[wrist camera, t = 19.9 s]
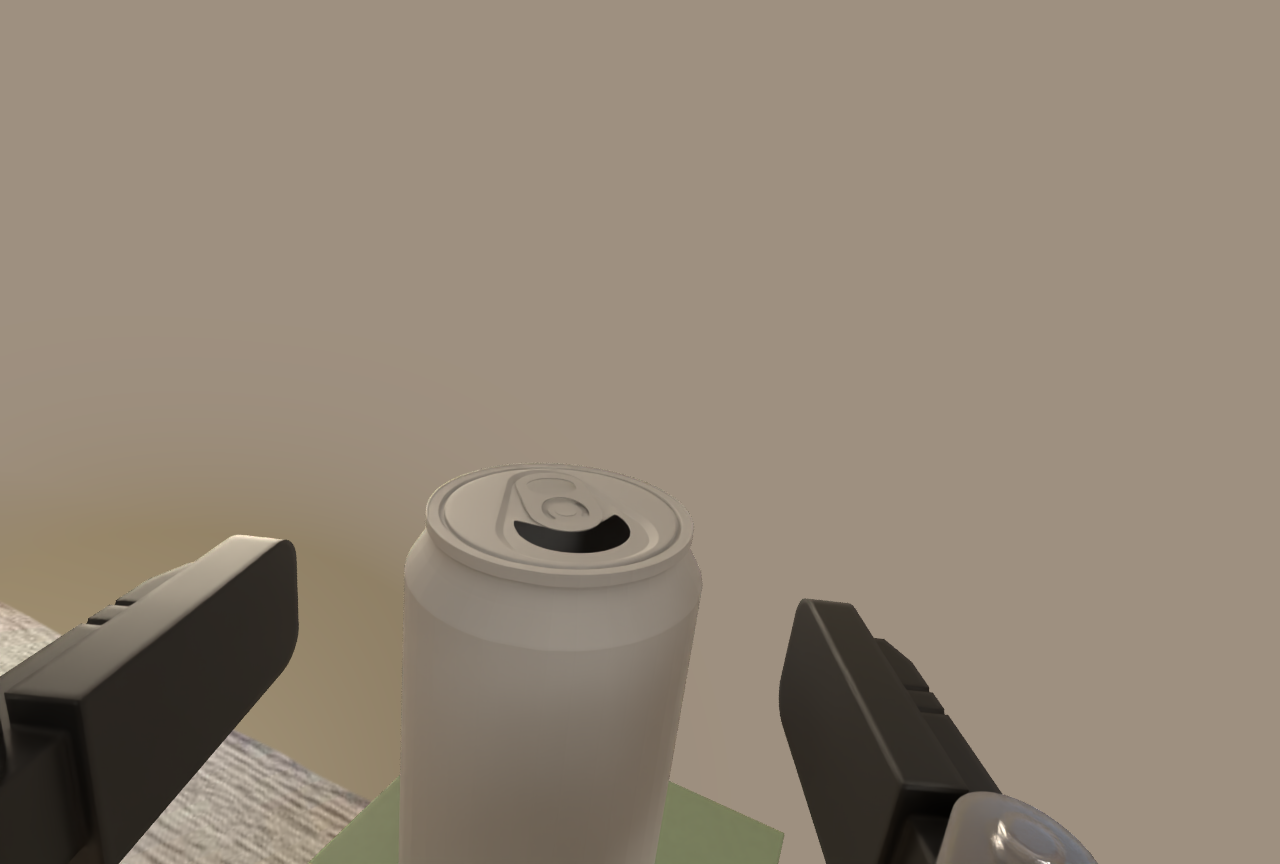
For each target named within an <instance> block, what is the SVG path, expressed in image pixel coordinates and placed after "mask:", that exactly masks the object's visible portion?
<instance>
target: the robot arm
mask: <svg viewBox="0 0 1280 864" xmlns="http://www.w3.org/2000/svg"><path fill="white" fill-rule="evenodd" d="M298 626H299V623H298V592H297V561H296V551H295V548H294V546H293V544H292V543H291V542H290V541H288V540H282V539H273V538H264V537H255V536H246V535H234V536H232V537H230V538H228V539H227V540H225V541H224V542H222V543H221V544H219V545H218V546H217V547H215V548H214V549H212V550H211V551H209V552H208V553H206V554H205V555H203V556H202V557H200V558H199V559H198V560H196V561H195V562H193V563H188V564H185V565H183V566H180V567H178V568H175V569H173V570H170V571H168V572H165V573H162V574H160V575H157V576H155V577H153V578H150V579H148V580H146V581H145V582H143V583H142V584H140V585H139V586H137V587H136V588H134V589H133V590H131V591H130V592H128V593H126V594H125V595H123V596H122V597H120V598H119V599H117V600H116V603H115V605H108V606H107V607H105V608H104V609H102V610H101V611H99V612H98V613H97V614H95V615H93V616H92V617H90V618H88V622H87V623H86V624H80V625H78V626H76V627H75V628H73V629H72V630H70V631H69V632H67V633H66V634H64V635H63V636H61V637H60V638H58V639H57V640H55V641H54V642H52V643H50V644H49V645H47V646H46V647H44V648H43V649H41V650H40V651H38V652H37V653H35V654H34V655H32V656H31V657H29V658H28V659H26V660H25V661H23V662H22V663H20V664H19V665H17V666H16V667H14V668H13V669H11V670H9V671H8V672H6V673H5V674H3V675H2V676H0V864H119V863H120V862H121V860H122V859H123V858H124V857H125V856H126V855H127V853H128V852H129V851H130V850H131V849H132V848H133V846H134V845H135V844H136V843H137V842H138V840H139V839H140V838H141V837H142V836H143V835H144V833H145V832H146V831H147V830H148V829H149V828H150V826H151V825H152V824H153V823H154V822H155V821H156V819H157V818H158V817H159V816H160V815H161V814H162V812H163V811H164V810H165V809H166V808H167V807H168V805H169V804H170V803H171V802H172V801H173V799H174V798H175V797H176V796H177V795H178V794H179V792H180V791H181V790H182V789H183V788H184V787H185V785H186V784H187V783H188V782H189V781H190V780H191V778H192V777H193V776H194V775H195V774H196V773H197V771H198V770H199V769H200V768H201V767H202V766H203V764H204V763H205V762H206V761H207V760H208V758H209V757H210V756H211V755H212V754H213V753H214V751H215V750H216V749H217V748H218V747H219V746H220V744H221V743H222V742H223V741H224V740H225V739H226V737H227V736H228V735H229V734H230V733H231V732H232V730H233V729H234V728H235V727H236V726H237V724H238V723H239V722H240V721H241V720H242V719H243V717H244V716H245V715H246V714H247V713H248V712H249V710H250V709H251V708H252V707H253V706H254V705H255V703H256V702H257V701H258V700H259V699H260V697H261V696H262V695H263V694H264V693H265V692H266V691H267V689H268V688H269V687H270V686H271V685H272V683H273V682H274V681H275V680H276V679H277V678H278V676H279V675H280V674H281V673H282V672H283V670H284V669H285V667H286V666H287V664H288V663H289V661H290V659H291V657H292V654H293V652H294V649H295V646H296V642H297V637H298V629H299V627H298ZM779 710H780V717H781V722H782V725H783V728H784V731H785V735H786V738H787V741H788V744H789V747H790V750H791V754H792V757H793V760H794V763H795V766H796V769H797V773H798V776H799V779H800V782H801V785H802V788H803V791H804V795H805V798H806V801H807V804H808V807H809V810H810V814H811V817H812V820H813V823H814V826H815V829H816V833H817V836H818V839H819V842H820V845H821V848H822V852H823V854H824V858H825V861H826V864H1098V863H1097V862H1096V860H1095V859H1094V857H1093V856H1092V855H1091V853H1090V852H1089V851H1088V850H1087V849H1086V848H1085V847H1084V846H1083V845H1082V844H1081V842H1080V841H1079V840H1078V839H1077V838H1076V837H1074V836H1073V835H1072V834H1071V833H1070V832H1069V831H1068V830H1067V829H1065V828H1064V827H1063V826H1061V825H1060V824H1059V823H1058V822H1056V821H1055V820H1053V819H1052V818H1051V817H1049V816H1048V815H1046V814H1045V813H1043V812H1041V811H1040V810H1038V809H1036V808H1034V807H1033V806H1031V805H1028V804H1026V803H1024V802H1022V801H1019V800H1017V799H1015V798H1012V797H1009V796H1006V795H1003V794H1002V793H1001V791H1000V790H999V789H998V787H997V785H996V784H995V783H994V781H993V780H992V778H991V777H990V775H989V774H988V772H987V771H986V769H985V768H984V767H983V765H982V764H981V762H980V761H979V759H978V758H977V756H976V755H975V753H974V752H973V751H972V749H971V748H970V746H969V745H968V743H967V742H966V740H965V739H964V737H963V736H962V734H961V733H960V732H959V730H958V729H957V727H956V726H955V724H954V723H953V721H952V720H951V719H950V717H949V716H948V715H945V714H944V708H943V707H942V705H941V704H940V703H939V701H938V700H937V698H936V697H935V695H934V694H933V693H931V692H929V687H928V685H927V684H926V682H925V681H924V679H923V678H922V676H921V675H920V673H919V672H918V671H917V669H916V668H915V666H914V665H913V663H912V662H911V661H910V660H909V659H907V658H906V657H905V656H904V655H903V654H901V653H900V652H899V651H898V650H897V649H895V648H894V647H893V646H892V645H891V644H889V643H888V642H887V641H886V640H884V639H877V638H873V636H872V635H871V633H870V631H869V630H868V628H867V627H866V625H865V623H864V622H863V620H862V619H861V617H860V616H859V614H858V612H857V611H856V609H855V608H854V606H853V605H851V604H849V603H841V602H832V601H823V600H814V599H802V600H801V601H800V603H799V605H798V607H797V610H796V614H795V618H794V623H793V627H792V632H791V636H790V640H789V644H788V649H787V653H786V658H785V662H784V666H783V671H782V675H781V680H780V687H779Z"/></svg>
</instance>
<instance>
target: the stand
mask: <svg viewBox="0 0 1280 864" xmlns="http://www.w3.org/2000/svg"><path fill="white" fill-rule="evenodd" d="M399 813H400V775H399V777H397V778H396V779H395V780H394V781H393V782H392V783H391V784H390V785H389V786H388V787H387V788H386V789H385V790H384V791H383V792H382V793H381V794H380V795H379V796H378V797H376V798H375V799H374V800H373V801H372V802H371V803H370V804H369V805H368V806H367V807H366V808H365V809H364V810H363V811H362V812H361V813H360V814H359V815H358V816H357V817H356V818H355V819H353V820H352V821H351V822H350V823H349V824H348V825H347V826H346V827H345V828H344V829H343V830H342V831H341V832H340V833H339V834H338V835H337V836H336V837H335V838H334V839H333V840H332V841H331V842H329V843H328V844H327V845H326V846H325V847H324V848H323V849H322V850H321V851H320V852H319V853H318V854H317V855H316V856H315V857H314V858H313V859H312V860H311V861H310V862H309V863H308V864H398V862H399ZM783 839H784V833H783V832H780V831H778V830H776V829H774V828H771V827H769V826H767V825H765V824H763V823H761V822H758V821H756V820H754V819H751V818H749V817H747V816H745V815H743V814H741V813H738V812H736V811H734V810H732V809H730V808H727V807H725V806H723V805H721V804H718V803H716V802H714V801H712V800H710V799H708V798H705V797H703V796H701V795H699V794H697V793H694V792H692V791H690V790H688V789H686V788H683V787H681V786H679V785H677V784H675V783H672V782H670V781H669V782H668V788H667V794H666V800H665V805H664V811H663V817H662V823H661V829H660V834H659V840H658V846H657V852H656V858H655V863H654V864H778V862H779V857H780V852H781V848H782V843H783Z"/></svg>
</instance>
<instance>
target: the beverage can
mask: <svg viewBox="0 0 1280 864" xmlns="http://www.w3.org/2000/svg"><path fill="white" fill-rule="evenodd" d="M693 531H694V524H693V520H692V517H691V516H690V514H689V512H688V511H687V509H686V508H685V507H684V506H683V505H682V504H681V503H680V502H679V501H678V500H677V499H675V498H674V497H673V496H671V495H670V494H668V493H666V492H665V491H663V490H661V489H660V488H658V487H656V486H653V485H651V484H649V483H647V482H644V481H642V480H639V479H636V478H634V477H630V476H627V475H624V474H620V473H617V472H613V471H608V470H603V469H599V468H593V467H587V466H580V465H571V464H558V463H522V464H509V465H501V466H495V467H489V468H485V469H480V470H476V471H473V472H470V473H466V474H463V475H461V476H458V477H456V478H454V479H452V480H450V481H448V482H446V483H445V484H443V485H442V486H440V487H439V488H438V489H437V490H436V491H435V492H434V493H433V494H432V495H431V497H430V498H429V500H428V502H427V506H426V529H425V530H424V531H423V533H422V534H421V535H420V536H419V538H418V539H417V540H416V542H415V543H414V544H413V546H412V548H411V549H410V551H409V553H408V556H407V558H406V562H405V569H404V572H405V573H404V618H403V666H402V714H401V715H402V717H401V718H402V719H401V766H400V813H399V862H398V864H654V863H655V858H656V852H657V846H658V840H659V834H660V829H661V823H662V817H663V811H664V805H665V800H666V794H667V788H668V782H669V777H670V771H671V765H672V759H673V753H674V748H675V741H676V736H677V730H678V724H679V718H680V713H681V707H682V701H683V695H684V689H685V684H686V678H687V672H688V666H689V660H690V655H691V649H692V643H693V637H694V631H695V626H696V620H697V614H698V609H699V603H700V597H701V591H702V575H701V571H700V569H699V566H698V564H697V561H696V559H695V557H694V555H693V553H692V551H691V549H690V546H691V543H692V538H693Z"/></svg>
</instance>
